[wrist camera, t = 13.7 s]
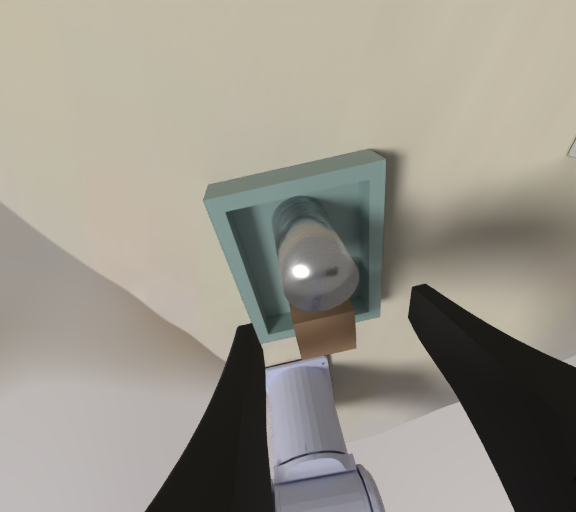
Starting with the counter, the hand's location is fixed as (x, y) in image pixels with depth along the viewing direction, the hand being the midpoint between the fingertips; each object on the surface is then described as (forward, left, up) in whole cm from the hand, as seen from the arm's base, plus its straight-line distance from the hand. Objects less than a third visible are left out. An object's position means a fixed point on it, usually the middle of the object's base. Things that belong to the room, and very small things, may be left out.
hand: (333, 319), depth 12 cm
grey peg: (0, 0, -9) cm, 9 cm away
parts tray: (-3, 0, -10) cm, 10 cm away
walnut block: (-6, 0, -9) cm, 11 cm away
